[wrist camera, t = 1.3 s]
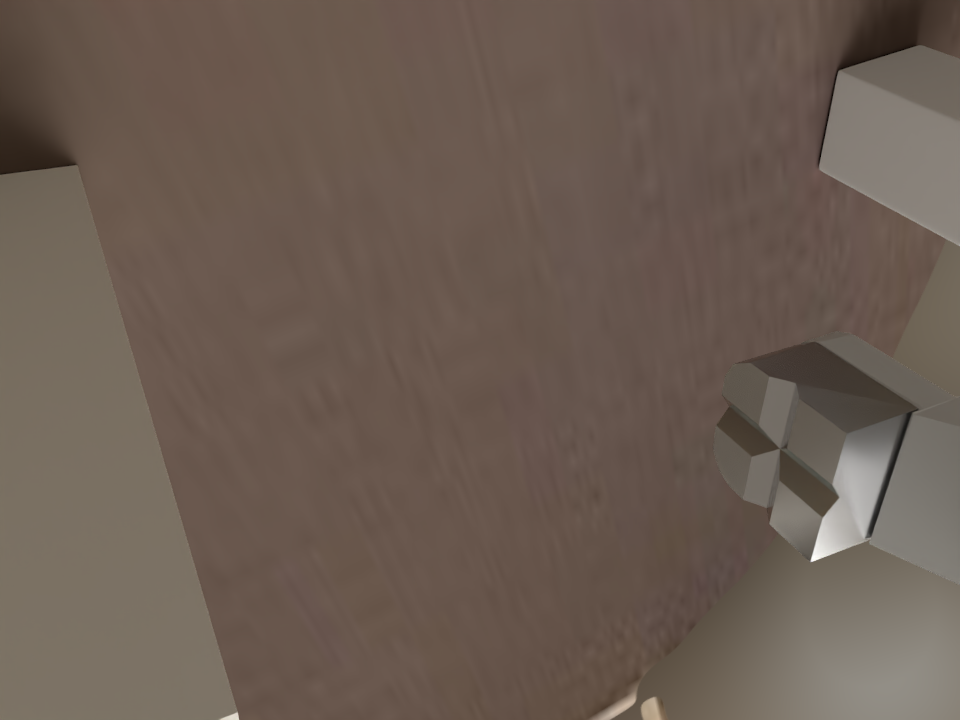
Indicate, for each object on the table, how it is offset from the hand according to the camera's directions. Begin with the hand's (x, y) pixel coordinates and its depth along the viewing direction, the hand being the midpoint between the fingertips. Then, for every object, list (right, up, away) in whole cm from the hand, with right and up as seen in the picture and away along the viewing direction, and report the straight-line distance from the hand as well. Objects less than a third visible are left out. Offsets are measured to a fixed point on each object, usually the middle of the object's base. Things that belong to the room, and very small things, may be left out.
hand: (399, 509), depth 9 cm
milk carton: (+27, +19, +49) cm, 59 cm away
